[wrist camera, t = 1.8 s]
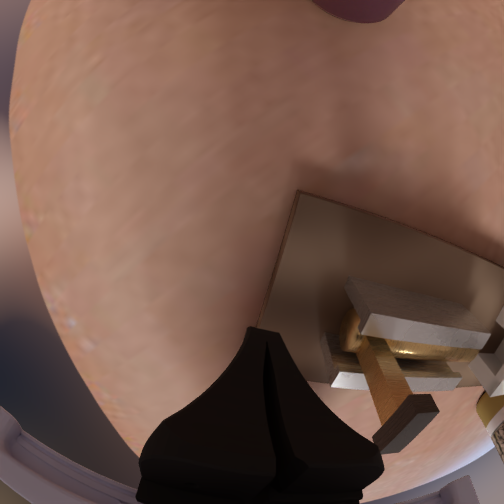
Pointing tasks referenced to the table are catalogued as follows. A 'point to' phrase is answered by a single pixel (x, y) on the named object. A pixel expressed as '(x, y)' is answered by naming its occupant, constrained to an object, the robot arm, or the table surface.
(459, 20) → the table surface
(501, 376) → the socket block
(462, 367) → the base board
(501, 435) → the brown tall cylinder
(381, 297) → the sleeve
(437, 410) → the sliding latch bolt
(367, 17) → the beverage can
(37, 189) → the table surface
